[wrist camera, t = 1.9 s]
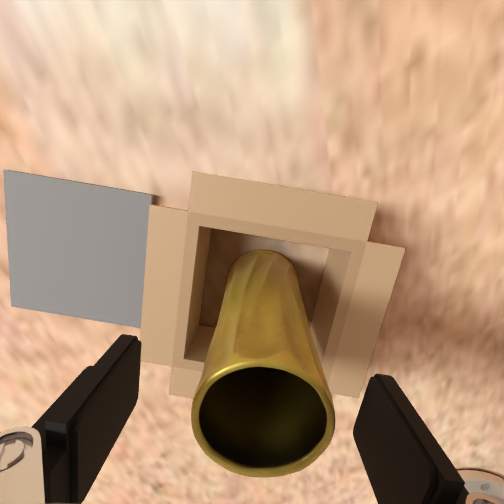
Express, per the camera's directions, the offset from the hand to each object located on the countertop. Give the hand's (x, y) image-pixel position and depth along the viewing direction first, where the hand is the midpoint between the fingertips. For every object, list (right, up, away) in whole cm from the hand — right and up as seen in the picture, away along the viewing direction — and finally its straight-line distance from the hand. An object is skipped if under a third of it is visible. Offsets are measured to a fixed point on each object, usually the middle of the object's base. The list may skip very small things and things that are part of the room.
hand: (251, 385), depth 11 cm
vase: (+1, +3, +13) cm, 13 cm away
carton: (+1, +3, +13) cm, 13 cm away
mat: (-15, +5, +13) cm, 20 cm away
